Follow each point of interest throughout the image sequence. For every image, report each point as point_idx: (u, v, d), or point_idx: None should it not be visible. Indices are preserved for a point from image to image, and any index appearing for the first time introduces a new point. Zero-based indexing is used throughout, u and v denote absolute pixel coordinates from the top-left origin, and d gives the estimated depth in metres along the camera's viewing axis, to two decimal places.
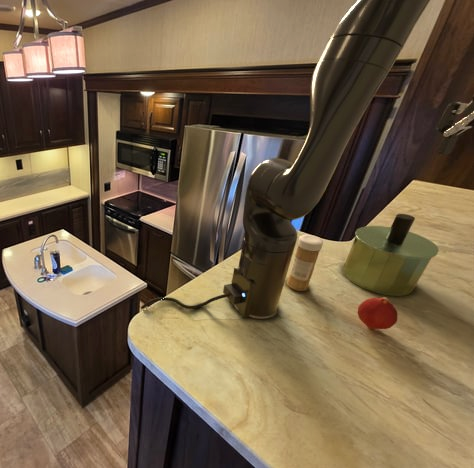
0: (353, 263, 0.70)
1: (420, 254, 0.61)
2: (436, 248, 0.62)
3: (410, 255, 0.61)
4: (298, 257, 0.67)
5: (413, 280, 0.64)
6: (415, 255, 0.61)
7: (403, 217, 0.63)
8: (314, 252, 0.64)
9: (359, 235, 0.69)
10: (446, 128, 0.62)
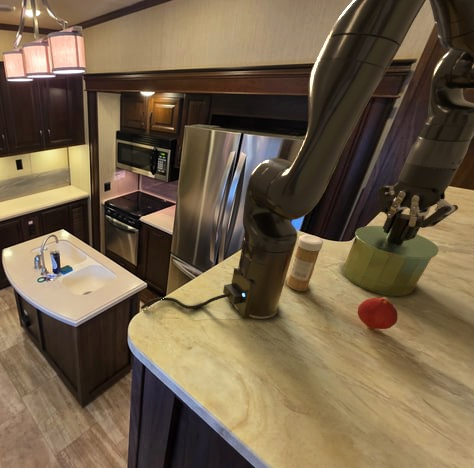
0: (353, 263, 0.70)
1: (420, 254, 0.61)
2: (436, 248, 0.62)
3: (410, 255, 0.61)
4: (298, 257, 0.67)
5: (413, 280, 0.64)
6: (415, 255, 0.61)
7: (403, 217, 0.63)
8: (314, 252, 0.64)
9: (359, 235, 0.69)
10: (389, 209, 0.66)
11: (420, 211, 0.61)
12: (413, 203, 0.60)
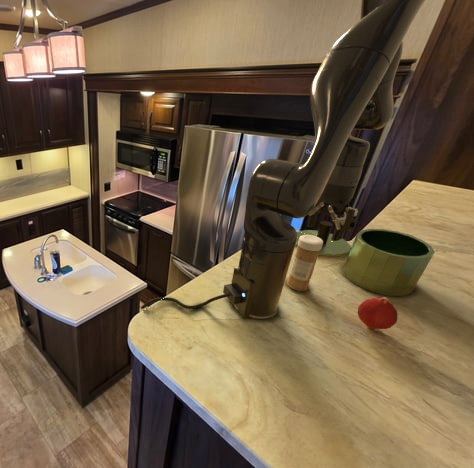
0: (353, 263, 0.70)
1: (335, 252, 0.80)
2: (348, 247, 0.82)
3: (327, 253, 0.80)
4: (298, 257, 0.67)
5: (413, 280, 0.64)
6: (331, 253, 0.80)
7: (324, 224, 0.83)
8: (314, 252, 0.64)
9: None
10: None
11: (340, 217, 0.79)
12: (330, 212, 0.79)
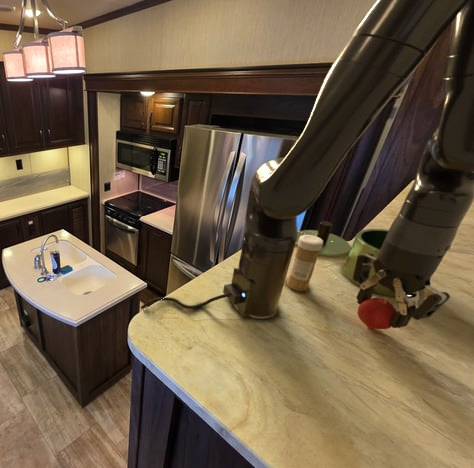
0: (353, 263, 0.70)
1: (335, 252, 0.80)
2: (348, 247, 0.82)
3: (327, 253, 0.80)
4: (298, 257, 0.67)
5: None
6: (331, 253, 0.80)
7: (324, 224, 0.83)
8: (314, 252, 0.64)
9: None
10: (363, 279, 0.58)
11: (408, 296, 0.52)
12: (396, 287, 0.51)
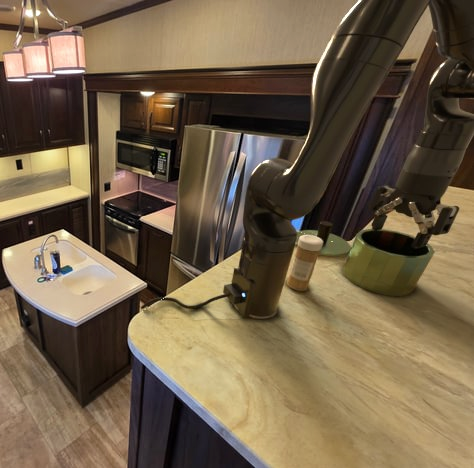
0: (353, 263, 0.70)
1: (335, 252, 0.80)
2: (348, 247, 0.82)
3: (327, 253, 0.80)
4: (298, 257, 0.67)
5: (413, 280, 0.64)
6: (331, 253, 0.80)
7: (324, 224, 0.83)
8: (314, 252, 0.64)
9: None
10: (377, 207, 0.68)
11: (425, 218, 0.60)
12: (413, 210, 0.60)
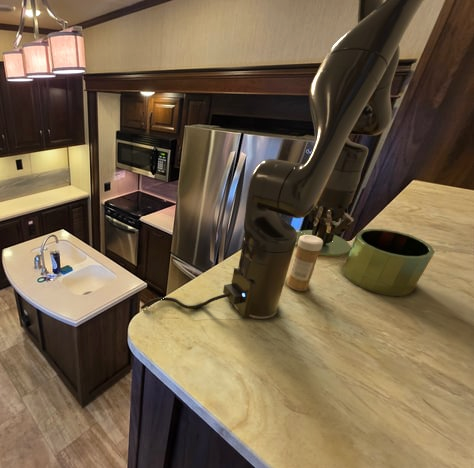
0: (353, 263, 0.70)
1: (335, 252, 0.80)
2: (348, 247, 0.82)
3: (327, 253, 0.80)
4: (298, 257, 0.67)
5: (413, 280, 0.64)
6: (331, 253, 0.80)
7: (324, 224, 0.83)
8: (314, 252, 0.64)
9: None
10: None
11: (334, 221, 0.81)
12: (328, 215, 0.80)
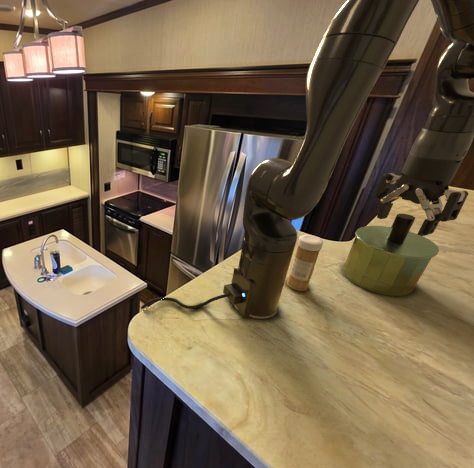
0: (353, 263, 0.70)
1: (420, 254, 0.61)
2: (436, 248, 0.62)
3: (410, 255, 0.61)
4: (298, 257, 0.67)
5: (413, 280, 0.64)
6: (415, 255, 0.61)
7: (403, 217, 0.63)
8: (314, 252, 0.64)
9: (359, 235, 0.69)
10: (382, 195, 0.67)
11: (432, 204, 0.59)
12: (420, 197, 0.59)
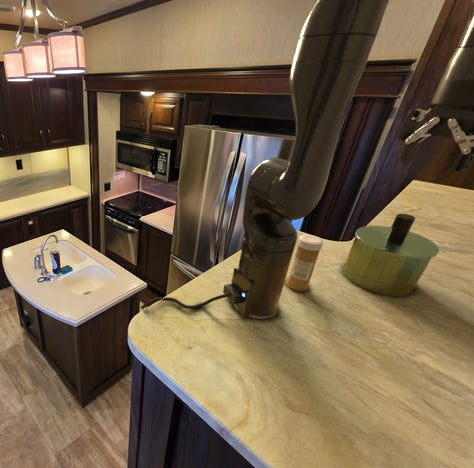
0: (353, 263, 0.70)
1: (420, 254, 0.61)
2: (436, 248, 0.62)
3: (410, 255, 0.61)
4: (298, 257, 0.67)
5: (413, 280, 0.64)
6: (415, 255, 0.61)
7: (403, 217, 0.63)
8: (314, 252, 0.64)
9: (359, 235, 0.69)
10: (407, 135, 0.60)
11: None
12: (453, 128, 0.52)
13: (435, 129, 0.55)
